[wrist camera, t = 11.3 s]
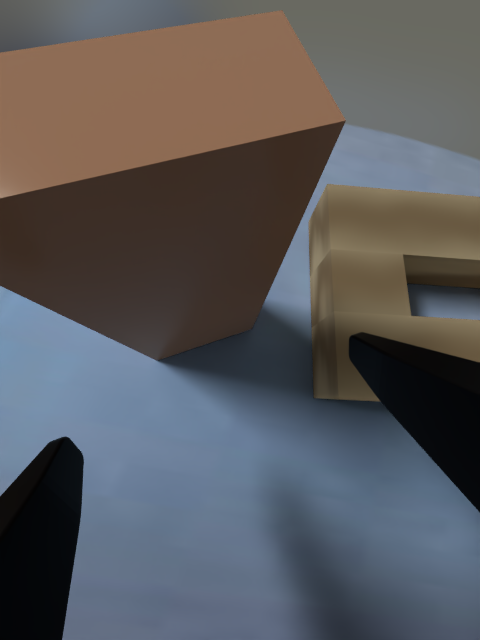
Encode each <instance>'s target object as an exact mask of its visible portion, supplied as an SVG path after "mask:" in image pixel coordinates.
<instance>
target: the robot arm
mask: <svg viewBox="0 0 480 640" xmlns="http://www.w3.org/2000/svg"><path fill="white" fill-rule="evenodd" d="M349 358H350V361H351V362H352V364H353V365H354V366H355V368H356V369H357V371H358V372H359V373H360V375H361V376H362V377H363V379H364V380H365V382H366V383H367V384H368V386H369V387H370V388H371V390H372V391H373V393H374V394H375V395H376V396H377V398H378V399H379V400H380V401H381V402H382V404H383V405H384V406H385V407H386V408H387V409H388V410H389V411H390V413H391V414H392V415H393V416H394V417H395V418H396V419H397V420H398V422H399V423H400V424H401V425H402V426H403V427H404V428H405V429H406V430H407V432H408V433H409V434H410V435H411V436H412V437H413V438H414V439H415V440H416V442H417V443H418V444H419V445H420V446H421V447H422V448H423V449H424V451H425V452H426V453H427V454H428V455H429V456H430V457H431V458H432V459H433V461H434V462H435V463H436V464H437V465H438V466H439V467H440V468H441V470H442V471H443V472H444V473H445V474H446V475H447V476H448V477H449V478H450V480H451V481H452V482H453V483H454V484H455V485H456V486H457V487H458V488H459V490H460V491H461V492H462V493H463V494H464V495H465V496H466V497H467V499H468V500H469V501H470V502H471V503H472V504H473V505H474V506H475V507H476V509H477V510H478V511H479V512H480V362H476V361H473V360H469V359H465V358H461V357H457V356H453V355H450V354H446V353H442V352H438V351H434V350H430V349H427V348H423V347H419V346H415V345H411V344H407V343H403V342H400V341H396V340H392V339H388V338H384V337H380V336H377V335H373V334H369V333H365V332H359V333H356V334H353V335H351V336H350V337H349ZM83 465H84V459H83V455H82V453H81V451H80V450H79V449H78V448H77V446H76V445H75V444H74V443H73V442H72V441H71V439H70V438H68V437H61V438H59V439H56V440H53V441H51V442H49V443H48V444H47V445H46V446H45V447H44V449H43V450H42V451H41V452H40V453H39V454H38V455H37V456H36V457H35V459H34V460H33V461H32V462H31V463H30V464H29V465H28V466H27V467H26V469H25V470H24V471H23V472H22V473H21V474H20V475H19V476H18V477H17V479H16V480H15V481H14V482H13V483H12V484H11V485H10V486H9V487H8V488H7V490H6V491H5V492H4V493H3V494H2V495H1V496H0V640H62V637H63V630H64V624H65V617H66V611H67V604H68V598H69V591H70V585H71V578H72V572H73V565H74V559H75V552H76V546H77V539H78V533H79V526H80V518H81V506H82V486H83Z"/></svg>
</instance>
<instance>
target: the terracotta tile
mask: <svg viewBox="0 0 480 640" xmlns="http://www.w3.org/2000/svg"><path fill="white" fill-rule="evenodd" d="M345 121H346V120H345V118H344V117H343V115H342V113H341V112H340V110H339V108H338V106H337V104H336V103H335V101H334V99H333V98H332V96H331V94H330V92H329V91H328V89H327V87H326V86H325V84H324V82H323V80H322V79H321V77H320V75H319V73H318V72H317V70H316V68H315V66H314V65H313V63H312V62H311V60H310V58H309V56H308V55H307V53H306V51H305V49H304V48H303V46H302V44H301V42H300V41H299V39H298V37H297V35H296V34H295V32H294V30H293V29H292V27H291V25H290V23H289V22H288V20H287V18H286V16H285V15H284V13H283V11H282V10H281V11H275V12H268V13H262V14H254V15H248V16H241V17H235V18H228V19H221V20H215V21H208V22H202V23H195V24H188V25H182V26H175V27H169V28H162V29H155V30H148V31H141V32H135V33H128V34H122V35H115V36H109V37H102V38H95V39H88V40H82V41H75V42H69V43H63V44H55V45H49V46H42V47H36V48H29V49H23V50H15V51H9V52H2V53H0V286H2V287H4V288H6V289H8V290H10V291H12V292H14V293H17V294H19V295H21V296H23V297H25V298H27V299H29V300H31V301H33V302H35V303H37V304H40V305H42V306H44V307H46V308H48V309H50V310H52V311H54V312H56V313H58V314H60V315H62V316H65V317H67V318H69V319H71V320H73V321H75V322H77V323H79V324H81V325H83V326H85V327H88V328H90V329H92V330H94V331H96V332H98V333H100V334H102V335H104V336H106V337H108V338H111V339H113V340H115V341H117V342H119V343H121V344H123V345H125V346H127V347H129V348H131V349H134V350H136V351H138V352H140V353H142V354H144V355H146V356H148V357H150V358H152V359H154V360H156V361H158V360H161V359H164V358H167V357H170V356H173V355H176V354H178V353H181V352H184V351H187V350H190V349H193V348H196V347H199V346H202V345H205V344H208V343H211V342H214V341H217V340H220V339H223V338H226V337H229V336H232V335H235V334H238V333H241V332H244V331H247V330H250V329H252V328H253V326H254V324H255V321H256V319H257V317H258V315H259V313H260V310H261V308H262V306H263V304H264V301H265V299H266V297H267V295H268V292H269V290H270V288H271V286H272V284H273V281H274V279H275V277H276V275H277V272H278V270H279V268H280V266H281V264H282V261H283V259H284V257H285V255H286V252H287V250H288V248H289V246H290V244H291V241H292V239H293V237H294V235H295V232H296V230H297V228H298V226H299V224H300V221H301V219H302V217H303V215H304V212H305V210H306V208H307V206H308V203H309V201H310V199H311V197H312V195H313V192H314V190H315V188H316V186H317V183H318V181H319V179H320V177H321V175H322V172H323V170H324V168H325V166H326V163H327V161H328V159H329V157H330V155H331V152H332V150H333V148H334V146H335V143H336V141H337V139H338V137H339V135H340V132H341V130H342V128H343V126H344V123H345Z"/></svg>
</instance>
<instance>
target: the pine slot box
mask: <svg viewBox="0 0 480 640" xmlns="http://www.w3.org/2000/svg"><path fill="white" fill-rule="evenodd" d="M309 255H310V289H311V323H312V358H313V392H314V398H321V399H338V400H359V401H380V400H379V399H378V398H377V396H376V395H375V394H374V393H373V391H372V390H371V388H370V387H369V386H368V384H367V383H366V382H365V380H364V379H363V377H362V376H361V375H360V373H359V372H358V371H357V369H356V368H355V366H354V365H353V364H352V362H351V361H350V358H349V337H350V336H351V335H353V334H356V333H359V332H365V333H369V334H373V335H377V336H380V337H384V338H388V339H392V340H396V341H400V342H403V343H407V344H411V345H415V346H419V347H423V348H427V349H430V350H434V351H438V352H442V353H446V354H450V355H453V356H457V357H461V358H465V359H469V360H473V361H476V362H480V320H468V319H452V318H436V317H420V316H411V311H410V303H409V296H408V289H407V283H409V284H424V285H439V286H453V287H468V288H480V197H474V196H462V195H451V194H439V193H427V192H415V191H403V190H392V189H380V188H368V187H356V186H344V185H333V184H327V186H326V188H325V190H324V192H323V194H322V196H321V198H320V200H319V202H318V204H317V206H316V208H315V210H314V212H313V214H312V216H311V218H310V220H309Z"/></svg>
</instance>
